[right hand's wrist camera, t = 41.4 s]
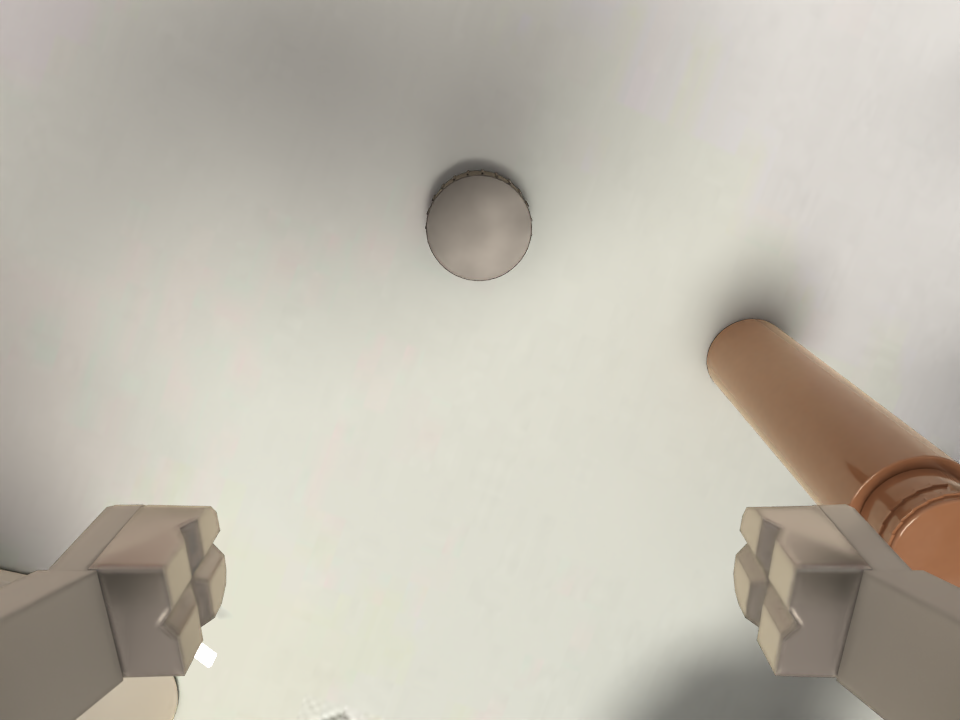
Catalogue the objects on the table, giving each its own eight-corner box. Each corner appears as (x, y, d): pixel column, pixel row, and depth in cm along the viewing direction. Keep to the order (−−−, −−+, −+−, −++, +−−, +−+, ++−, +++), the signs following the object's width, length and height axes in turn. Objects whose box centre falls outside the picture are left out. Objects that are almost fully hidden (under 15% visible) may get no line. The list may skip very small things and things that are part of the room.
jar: (788, 313, 40) (1033, 479, 23) (787, 388, 42) (1012, 597, 24) (705, 324, 41) (882, 497, 23) (707, 398, 42) (873, 613, 25)
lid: (446, 154, 37) (444, 157, 35) (545, 189, 38) (549, 195, 36) (415, 252, 39) (411, 261, 37) (509, 285, 40) (511, 296, 38)
